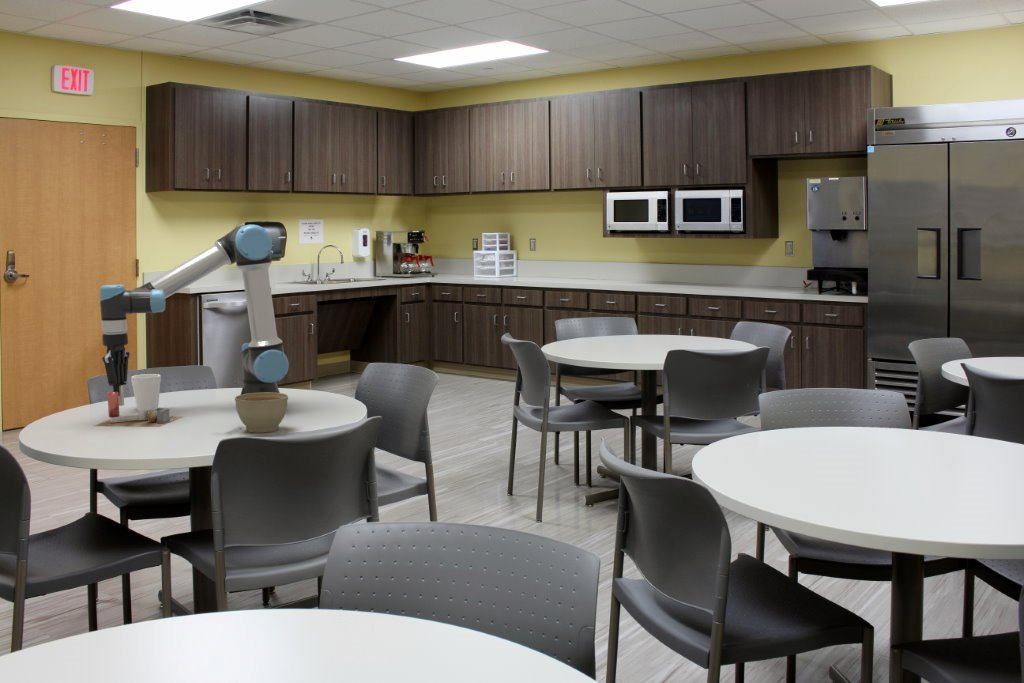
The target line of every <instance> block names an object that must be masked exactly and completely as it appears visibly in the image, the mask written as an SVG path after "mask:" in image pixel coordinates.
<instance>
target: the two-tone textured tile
mask: <svg viewBox="0 0 1024 683" xmlns="http://www.w3.org/2000/svg"><path fill="white" fill-rule="evenodd" d="M156 411H157V410H156ZM170 416H171V415H170V409H169V408H163V409H161V410H159V411H157V424H164V423H166V422H169V421H170Z"/></svg>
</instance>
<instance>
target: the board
mask: <svg viewBox="0 0 1024 683" xmlns="http://www.w3.org/2000/svg"><path fill="white" fill-rule="evenodd" d="M161 409H164V408H162V407H158V409H156V411H159V410H161ZM182 418H183V416H177V415H176V416H171V415H170V421H169V422H166V423H164V424H157V421H156V422H150V421H148V420H131V421H120V422H111V419H110V418H109V419H107V420H105V421H102V422H99V423H97V424H94V425H93V427H134V428H135V427H137V428H140V427H145V428H148V427H149V428H160V427H162V426H165V425H167V424H169V423H172V422H175V421H177V420H179V419H182Z"/></svg>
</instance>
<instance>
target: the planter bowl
mask: <svg viewBox="0 0 1024 683" xmlns="http://www.w3.org/2000/svg"><path fill="white" fill-rule="evenodd" d="M288 400H289V395H288V394H286V393H281V392H280V393H270V392H263V393H249V394H243V395H240V394H239V395H236V396H235V397H234V401H235V407H236V408H235V409H236V412H237V415H238V417H239V419H240V421H241V423H242V424H243V425H244V426H245V428H246V431H247V432H248V433H249V432H250V433H257V434H260V433H270V432H275V431H278V430H279V425H280V424H281V423H282V421H283V419H284V418H285V416H286V412H287V408H288Z"/></svg>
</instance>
